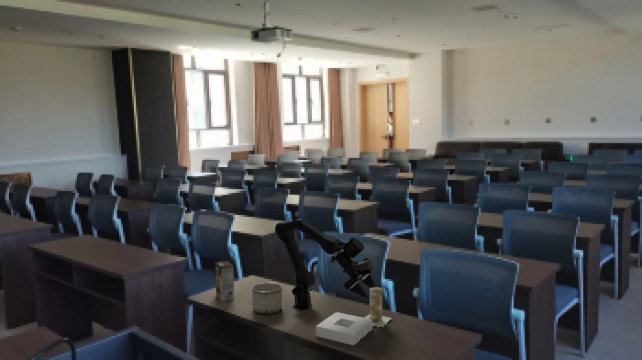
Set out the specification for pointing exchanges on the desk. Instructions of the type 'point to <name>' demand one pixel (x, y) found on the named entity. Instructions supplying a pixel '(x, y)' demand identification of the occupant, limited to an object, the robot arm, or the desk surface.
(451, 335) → the desk surface
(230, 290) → the coffee box
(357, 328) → the pocket block
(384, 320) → the green pad
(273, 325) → the desk surface
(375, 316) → the wooden peg
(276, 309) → the planter
